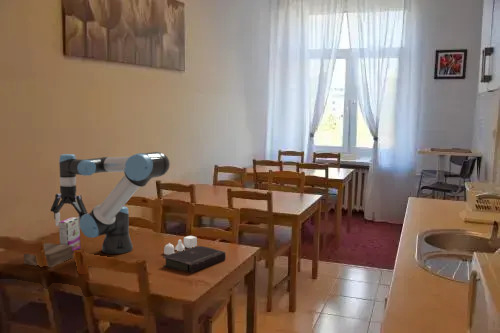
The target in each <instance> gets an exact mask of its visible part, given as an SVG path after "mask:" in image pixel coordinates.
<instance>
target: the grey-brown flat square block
mask: <svg viewBox="0 0 500 333" xmlns="http://www.w3.org/2000/svg"><path fill="white" fill-rule="evenodd" d="M43 244H44V251H45V256H46V260H47V265H48V267H47V268H53V267H56V266H57V264H58V265H60V264H62V263H65V262H66V260H67V261H69V260H71V259H70V258H72V259H73V258H74V256H73V255H74V254H73V253H74V252H73V249H72V246H69V245H60V243H50V242H49V243H48V242H46V243H43ZM68 259H69V260H68ZM64 261H65V262H64ZM23 262H24V263H23V264H24V265H29V266H36V267H37V261H36V256H35V255H31V254H24V253H23Z"/></svg>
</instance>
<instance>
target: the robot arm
mask: <svg viewBox="0 0 500 333" xmlns="http://www.w3.org/2000/svg"><path fill="white" fill-rule="evenodd" d="M58 160H59V163H58V164H59V166H58V167H59V185H60V186H59V190H60V192H59V193H56V194H55V198H54V200H53V202H52V205H51V207H50V212H52V213H53V219H54V220H55V227H59V222H61V212H60V210H61V209H62V208H63V207H64V205H65V204H68V205H71V206H72V207H73V208H74V210H75V211H76V212H77V213H78V215H77V218H78V228H79V229H80V231H81V232H82V234H83V235H84V236H85V237H87V238H89V239H93V238H97V237H99V236H103V235H104V239H103V242H102V246H101V251H102V252H103V253H105V254H110V255H116V254H117V255H119V254H125V253H126V254H127V253H129V252H131V251H132V250H133V242H132V239H131V237H130V229H129V228H130V225H129V224H130V221H129V220H130V219H129V218H130V217H129V215H130V214H129V208H128V207H127V206H126V204H127V203H128V201H129V200H130V199H131V198H132V197H133V195H135V193H136V192H137V191H138V189H139V188H143V187H145V186H146V185H147V184H148V183H149V182H150V180H152V179H153V178H159V177H162V176H164V175H166V173H168V171H169V169H170V167H171V166H170V165H171V163H170V160H169V157H168V156H167V155H166V154H165V153H163V152H160V151H153V152H139V153H135V154H132V155H131V156H114V157H113V156H112V157H111V156H102V157H97V158H87V159H80V158H79V159H78V158H76V155H75V154H73V153H72V154H71V153H63V154H60V155H59V159H58ZM99 173H123V174H124V176H123V177H122V178H121V179H120V180H119V182H118V183H117V184H116V186H115V187H114V188H112V190H111V192H110V193H109V194H108V195H107V196H106V198H105V199H104V200H103V202H102V203H101V204H98V205H95V207H93V208H92V210H91V211H90V212H89V213H88V210H87V209H86V206H85V204H84V201H83V198H82V195H80V194H79V195H76V193H77V185H76V184H77V175H79V176H83V177H86V176H89V177H90V176H92V175H94V174H99Z"/></svg>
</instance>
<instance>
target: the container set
mask: <svg viewBox="0 0 500 333" xmlns="http://www.w3.org/2000/svg"><path fill="white" fill-rule="evenodd" d="M197 240H198V238H197V236H193V235H187V236H184V237H183V240H182V239H178V241H177V244H176V245H175V247H174V245H173V244H172V243H170V242H168V243H167V244H165V246H164V248H163V249H164V252H163V254H164V255H165V256H167V255H170V254H173V253H175V250H177V251H176V252H181V251H183V250H186V248H187V249H190V248H192V247H195V246H198V241H197Z"/></svg>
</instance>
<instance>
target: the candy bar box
mask: <svg viewBox="0 0 500 333" xmlns="http://www.w3.org/2000/svg"><path fill="white" fill-rule="evenodd" d="M58 229H59V230H58V232H59V244H60V245H69V246H72V249H73V251H74V250H76V251H78V250H80V249H81V228H80V229H79V228H78V217H73V216H72V217H71V216H70V217H69V218H66V219H63V220H60V222H59V226H58Z"/></svg>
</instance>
